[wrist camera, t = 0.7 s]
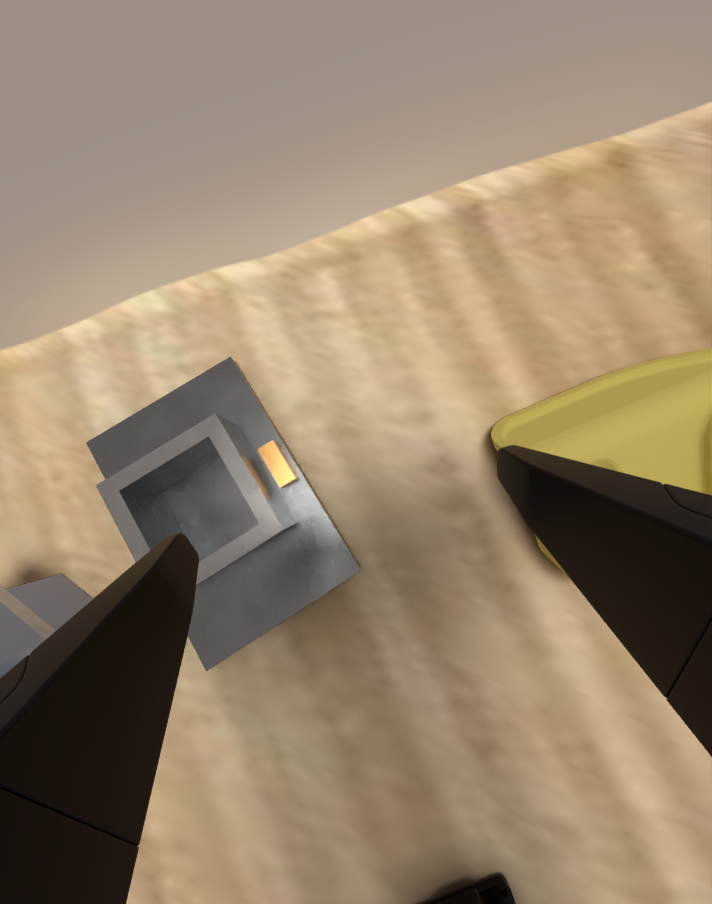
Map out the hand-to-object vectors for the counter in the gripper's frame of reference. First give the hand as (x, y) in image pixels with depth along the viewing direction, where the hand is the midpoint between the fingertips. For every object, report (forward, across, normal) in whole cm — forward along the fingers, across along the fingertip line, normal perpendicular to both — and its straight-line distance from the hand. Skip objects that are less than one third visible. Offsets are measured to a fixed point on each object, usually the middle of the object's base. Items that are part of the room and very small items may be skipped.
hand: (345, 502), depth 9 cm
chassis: (+13, +9, +7) cm, 17 cm away
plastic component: (+10, -20, +11) cm, 25 cm away
